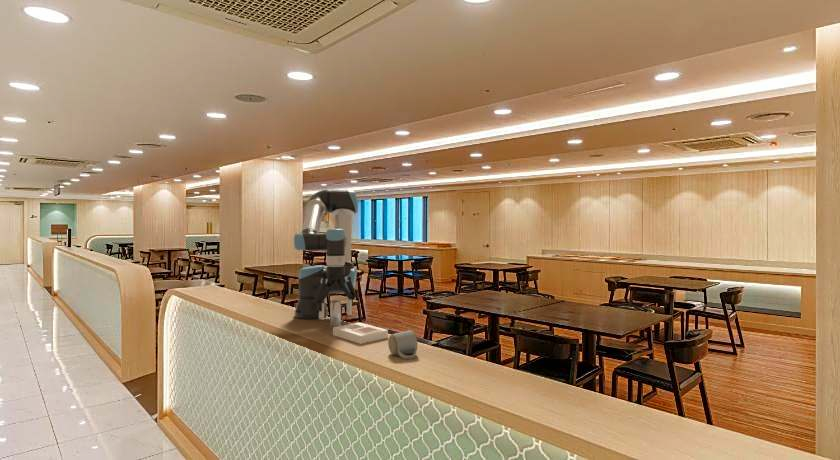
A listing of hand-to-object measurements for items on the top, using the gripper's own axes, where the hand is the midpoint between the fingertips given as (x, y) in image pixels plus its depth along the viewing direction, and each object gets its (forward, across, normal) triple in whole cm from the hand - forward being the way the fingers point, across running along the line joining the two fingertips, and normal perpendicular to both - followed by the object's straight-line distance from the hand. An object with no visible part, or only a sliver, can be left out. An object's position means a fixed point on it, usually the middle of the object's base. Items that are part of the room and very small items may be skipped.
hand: (335, 316), depth 192 cm
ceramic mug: (+6, -4, -47) cm, 48 cm away
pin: (+5, 0, 0) cm, 5 cm away
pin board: (+5, 0, -17) cm, 18 cm away
